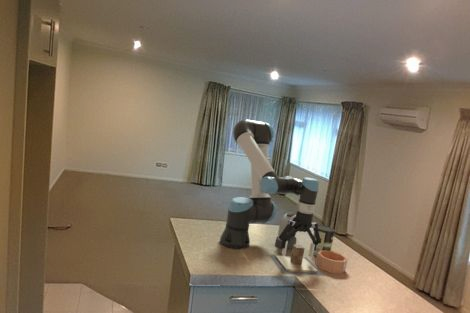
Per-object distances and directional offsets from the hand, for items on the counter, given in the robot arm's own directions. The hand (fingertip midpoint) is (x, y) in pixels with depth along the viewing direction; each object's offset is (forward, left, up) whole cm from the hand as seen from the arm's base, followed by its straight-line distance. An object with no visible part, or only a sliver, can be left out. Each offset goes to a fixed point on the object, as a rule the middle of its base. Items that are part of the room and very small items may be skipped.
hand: (297, 256), depth 172 cm
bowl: (+18, 0, -5) cm, 19 cm away
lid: (0, 0, -4) cm, 4 cm away
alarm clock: (+5, +26, -5) cm, 27 cm away
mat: (0, 0, -5) cm, 5 cm away
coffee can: (+21, +17, -5) cm, 27 cm away
